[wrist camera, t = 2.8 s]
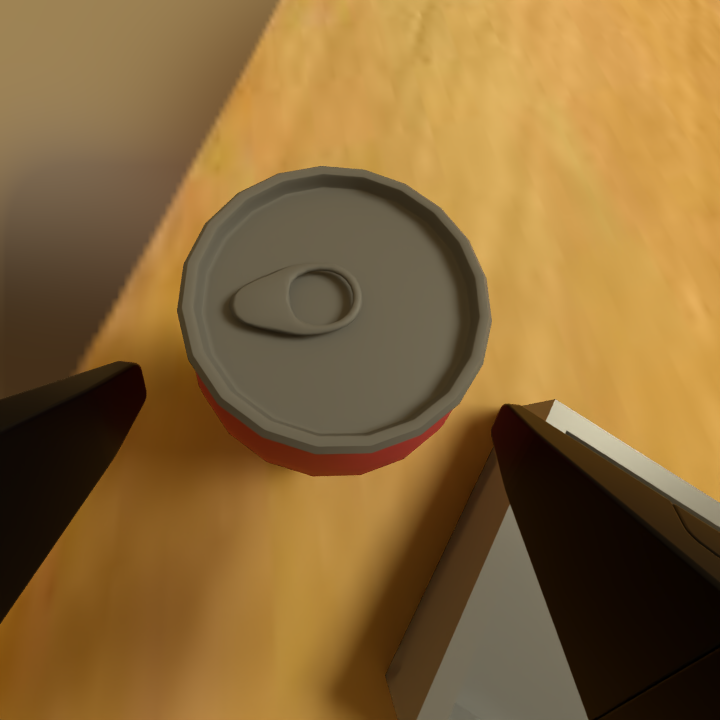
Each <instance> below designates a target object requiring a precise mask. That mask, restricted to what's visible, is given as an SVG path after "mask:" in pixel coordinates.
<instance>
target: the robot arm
mask: <svg viewBox="0 0 720 720" xmlns="http://www.w3.org/2000/svg"><path fill="white" fill-rule="evenodd" d="M145 399H146V387H145V383H144V378H143V374H142V370H141V367H140V366H139V365H138V364H137V363H132V362H123V361H118V362H114V363H111V364H108V365H105V366H102V367H99V368H96V369H92V370H89V371H86V372H83V373H80V374H77V375H74V376H71V377H68V378H65V379H62V380H59V381H56V382H52V383H49V384H47V385H43V386H40V387H37V388H34V389H31V390H28V391H25V392H22V393H19V394H16V395H12V396H9V397H6V398H3V399H0V624H1V622H2V621H3V619H4V618H5V616H6V615H7V614H8V612H9V611H10V609H11V608H12V606H13V605H14V603H15V602H16V600H17V599H18V597H19V596H20V595H21V593H22V592H23V590H24V589H25V587H26V586H27V584H28V583H29V581H30V580H31V579H32V577H33V576H34V574H35V573H36V571H37V570H38V568H39V567H40V565H41V564H42V563H43V561H44V560H45V558H46V557H47V555H48V554H49V552H50V551H51V549H52V548H53V546H54V545H55V544H56V542H57V541H58V539H59V538H60V536H61V535H62V533H63V532H64V530H65V529H66V528H67V526H68V525H69V523H70V522H71V520H72V519H73V517H74V516H75V514H76V513H77V512H78V510H79V509H80V507H81V506H82V504H83V503H84V501H85V500H86V498H87V497H88V495H89V494H90V493H91V491H92V490H93V488H94V487H95V485H96V484H97V482H98V481H99V479H100V478H101V477H102V475H103V474H104V472H105V471H106V469H107V468H108V466H109V465H110V463H111V462H112V460H113V459H114V457H115V455H116V454H117V452H118V450H119V449H120V447H121V445H122V443H123V441H124V439H125V438H126V436H127V434H128V432H129V430H130V428H131V426H132V424H133V423H134V421H135V419H136V417H137V415H138V413H139V411H140V410H141V408H142V406H143V404H144V402H145ZM491 437H492V441H493V445H494V449H495V453H496V457H497V461H498V465H499V469H500V473H501V477H502V481H503V485H504V488H505V491H506V494H507V497H508V500H509V503H510V506H511V508H512V511H513V514H514V517H515V519H516V522H517V525H518V528H519V530H520V533H521V536H522V539H523V541H524V544H525V547H526V550H527V552H528V555H529V558H530V561H531V563H532V566H533V569H534V572H535V574H536V577H537V580H538V583H539V585H540V588H541V591H542V594H543V596H544V599H545V602H546V605H547V607H548V610H549V613H550V616H551V618H552V621H553V624H554V627H555V629H556V632H557V635H558V638H559V640H560V643H561V646H562V649H563V651H564V654H565V657H566V660H567V663H568V665H569V668H570V671H571V674H572V676H573V679H574V682H575V685H576V687H577V690H578V693H579V696H580V698H581V701H582V704H583V707H584V709H585V712H586V715H587V718H588V720H720V532H718V531H717V530H715V529H714V528H712V527H711V526H709V525H707V524H706V523H704V522H703V521H701V520H699V519H698V518H696V517H695V516H693V515H691V514H690V513H688V512H687V511H685V510H684V509H682V508H681V507H679V506H677V505H676V504H672V503H671V501H669V500H668V499H666V498H665V497H663V496H662V495H660V494H659V493H657V492H655V491H654V490H652V489H651V488H649V487H648V486H646V485H644V484H643V483H641V482H640V481H638V480H637V479H635V478H634V477H632V476H630V475H629V474H627V473H626V472H624V471H623V470H621V469H620V468H618V467H616V466H615V465H613V464H612V463H610V462H609V461H607V460H605V459H604V458H602V457H601V456H599V455H598V454H596V453H595V452H593V451H591V450H590V449H588V448H587V447H585V446H584V445H582V444H581V443H579V442H577V441H576V440H574V439H573V438H571V437H570V436H568V435H566V434H565V433H563V432H562V431H560V430H559V429H557V428H556V427H554V426H552V425H551V424H549V423H548V422H546V421H545V420H543V419H541V418H540V417H538V416H537V415H535V414H534V413H532V412H531V411H529V410H527V409H526V408H524V407H523V406H521V405H516V404H504V405H503V406H502V407H501V409H500V411H499V413H498V415H497V417H496V419H495V421H494V424H493V426H492V429H491Z"/></svg>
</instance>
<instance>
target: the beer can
mask: <svg viewBox="0 0 720 720" xmlns="http://www.w3.org/2000/svg"><path fill="white" fill-rule="evenodd" d="M177 313H178V317H179V322H180V326H181V330H182V335H183V339H184V343H185V348H186V352H187V356H188V360H189V362H190V363H191V365H192V366H193V368H194V369H195V371H196V376H197V380H198V384H199V387H200V389H201V391H202V393H203V395H204V396H205V398H206V399H207V401H208V402H209V404H210V405H211V407H212V408H213V410H214V411H215V413H216V414H217V416H218V417H219V419H220V420H221V422H222V423H223V425H224V427H225V428H226V430H227V431H228V433H229V434H231V435H232V436H233V437H235V438H236V439H237V440H239V441H240V442H241V443H243V444H244V445H245V446H247V447H248V448H249V449H251V450H252V451H253V452H255V453H256V454H257V455H259V456H260V457H261V458H263V459H264V460H265V461H267V462H269V463H272V464H276V465H279V466H282V467H285V468H288V469H291V470H295V471H298V472H301V473H304V474H307V475H310V476H343V475H362V474H364V473H367V472H370V471H372V470H375V469H378V468H381V467H383V466H386V465H389V464H391V463H394V462H397V461H399V460H402V459H404V458H405V457H406V456H408V455H409V454H410V453H411V452H412V451H414V450H415V449H416V448H417V447H418V446H420V445H421V444H422V443H423V442H424V441H426V440H427V439H428V438H429V437H431V436H432V435H433V434H434V433H435V432H437V431H438V430H439V429H440V427H441V426H442V425H443V424H444V423H445V421H446V419H447V418H448V416H449V414H450V413H451V411H452V409H454V408H455V407H456V406H457V405H458V404H459V403H460V402H461V400H462V398H463V397H464V395H465V393H466V392H467V390H468V388H469V387H470V385H471V383H472V382H473V380H474V378H475V377H476V375H477V373H478V372H479V370H480V368H481V367H482V365H483V362H484V357H485V352H486V347H487V342H488V337H489V332H490V327H491V322H492V319H491V311H490V303H489V295H488V287H487V279H486V277H485V274H484V272H483V270H482V268H481V266H480V264H479V261H478V259H477V257H476V255H475V253H474V250H473V248H472V246H471V244H470V242H469V240H468V239H467V237H466V236H465V235H464V234H463V233H462V232H461V231H460V229H459V228H458V227H457V226H456V225H455V224H454V222H453V221H452V220H451V219H450V218H449V217H448V216H447V214H446V213H445V212H444V211H443V210H442V209H441V208H440V207H439V206H437V205H436V204H434V203H433V202H431V201H430V200H428V199H427V198H425V197H424V196H422V195H421V194H419V193H418V192H416V191H415V190H413V189H412V188H411V187H409V186H408V185H406V184H404V183H401V182H398V181H395V180H392V179H390V178H387V177H384V176H381V175H378V174H375V173H372V172H370V171H367V170H362V169H350V168H338V167H326V166H319V167H313V168H307V169H302V170H296V171H290V172H285V173H279V174H276V175H274V176H272V177H270V178H268V179H266V180H264V181H262V182H260V183H258V184H256V185H254V186H251V187H249V188H247V189H245V190H243V191H241V192H239V193H237V194H236V195H235V196H234V197H233V198H232V199H231V200H230V201H229V202H228V203H227V204H226V205H225V206H224V207H222V208H221V209H220V210H219V211H218V212H217V213H216V214H215V215H214V216H213V217H212V218H211V219H210V220H209V221H208V222H206V223H205V225H204V227H203V229H202V231H201V232H200V234H199V236H198V238H197V240H196V242H195V244H194V246H193V247H192V249H191V251H190V253H189V255H188V257H187V259H186V261H185V262H184V265H183V272H182V279H181V286H180V294H179V301H178V308H177Z"/></svg>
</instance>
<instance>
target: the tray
mask: <svg viewBox="0 0 720 720" xmlns="http://www.w3.org/2000/svg"><path fill="white" fill-rule="evenodd" d="M523 407H524V408H526V409H527V410H529V411H531V412H532V413H534V414H535V415H537V416H538V417H540V418H541V419H543V420H545V421H546V422H548V423H549V424H551V425H552V426H554V427H556V428H557V429H559V430H560V431H562V432H563V433H565V434H566V435H568V436H570V437H571V438H573V439H574V440H576V441H577V442H579V443H581V444H582V445H584V446H585V447H587V448H588V449H590V450H591V451H593V452H595V453H596V454H598V455H599V456H601V457H602V458H604V459H605V460H607V461H609V462H610V463H612V464H613V465H615V466H616V467H618V468H620V469H621V470H623V471H624V472H626V473H627V474H629V475H630V476H632V477H634V478H635V479H637V480H638V481H640V482H641V483H643V484H644V485H646V486H648V487H649V488H651V489H652V490H654V491H655V492H657V493H659V494H660V495H662V496H663V497H665V498H666V499H668V500H669V501H671V503H672V504H676V505H677V506H679V507H681V508H682V509H684V510H685V511H687V512H688V513H690V514H691V515H693V516H695V517H696V518H698V519H699V520H701V521H703V522H704V523H706V524H707V525H709V526H711V527H712V528H714V529H715V530H717V531H718V532H720V503H719V502H717V501H716V500H714V499H713V498H711V497H710V496H708V495H706V494H705V493H703V492H702V491H700V490H698V489H697V488H695V487H694V486H692V485H691V484H689V483H687V482H686V481H684V480H683V479H681V478H679V477H678V476H676V475H675V474H673V473H671V472H670V471H668V470H667V469H665V468H664V467H662V466H660V465H659V464H657V463H656V462H654V461H652V460H651V459H649V458H648V457H646V456H644V455H643V454H641V453H640V452H638V451H637V450H635V449H633V448H632V447H630V446H629V445H627V444H625V443H624V442H622V441H621V440H619V439H618V438H616V437H614V436H613V435H611V434H610V433H608V432H606V431H605V430H603V429H602V428H600V427H598V426H597V425H595V424H594V423H592V422H591V421H589V420H587V419H586V418H584V417H583V416H581V415H579V414H578V413H576V412H575V411H573V410H572V409H570V408H568V407H567V406H565V405H564V404H562V403H560V402H559V401H557V400H556V399H554V400H549V401H544V402H539V403H534V404H529V405H524V406H523ZM385 676H386V680H387V683H388V687H389V690H390V694H391V697H392V701H393V705H394V708H395V712H396V715H397V719H398V720H588V718H587V715H586V712H585V709H584V707H583V704H582V701H581V698H580V696H579V693H578V690H577V687H576V685H575V682H574V679H573V676H572V674H571V671H570V668H569V665H568V663H567V660H566V657H565V654H564V651H563V649H562V646H561V643H560V640H559V638H558V635H557V632H556V629H555V627H554V624H553V621H552V618H551V616H550V613H549V610H548V607H547V605H546V602H545V599H544V596H543V594H542V591H541V588H540V585H539V583H538V580H537V577H536V574H535V572H534V569H533V566H532V563H531V561H530V558H529V555H528V552H527V550H526V547H525V544H524V541H523V539H522V536H521V533H520V530H519V528H518V525H517V522H516V519H515V517H514V514H513V511H512V508H511V506H510V503H509V500H508V497H507V494H506V491H505V488H504V485H503V481H502V477H501V473H500V469H499V465H498V461H497V457H496V453H495V449H494V447H493V449H492V451H491V453H490V455H489V457H488V460H487V462H486V464H485V466H484V468H483V470H482V472H481V474H480V477H479V479H478V481H477V483H476V485H475V487H474V489H473V491H472V493H471V496H470V498H469V500H468V502H467V504H466V506H465V508H464V510H463V512H462V515H461V517H460V519H459V521H458V523H457V525H456V527H455V529H454V531H453V534H452V536H451V538H450V540H449V542H448V544H447V546H446V548H445V550H444V553H443V555H442V557H441V559H440V561H439V563H438V565H437V567H436V570H435V572H434V574H433V576H432V578H431V580H430V582H429V584H428V586H427V589H426V591H425V593H424V595H423V597H422V599H421V601H420V603H419V605H418V608H417V610H416V612H415V614H414V616H413V618H412V620H411V622H410V624H409V627H408V629H407V631H406V633H405V635H404V637H403V639H402V641H401V643H400V646H399V648H398V650H397V652H396V654H395V656H394V658H393V660H392V663H391V665H390V667H389V669H388V671H387V673H386V675H385Z"/></svg>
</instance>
